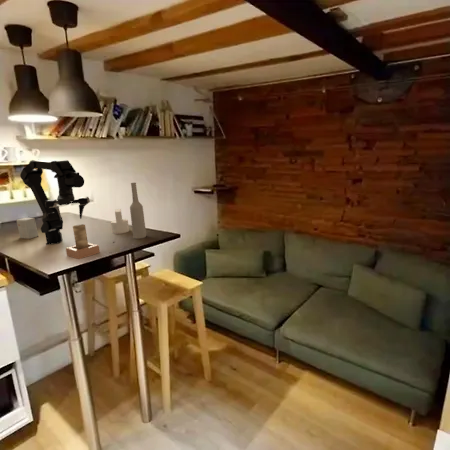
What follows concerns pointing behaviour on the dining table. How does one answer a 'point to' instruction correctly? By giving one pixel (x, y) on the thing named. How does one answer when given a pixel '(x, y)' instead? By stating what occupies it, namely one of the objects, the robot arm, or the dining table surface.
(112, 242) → the dining table surface
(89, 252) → the socket
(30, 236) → the small box
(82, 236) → the peg
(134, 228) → the bottle
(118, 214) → the base with upright slab
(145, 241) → the dining table surface
